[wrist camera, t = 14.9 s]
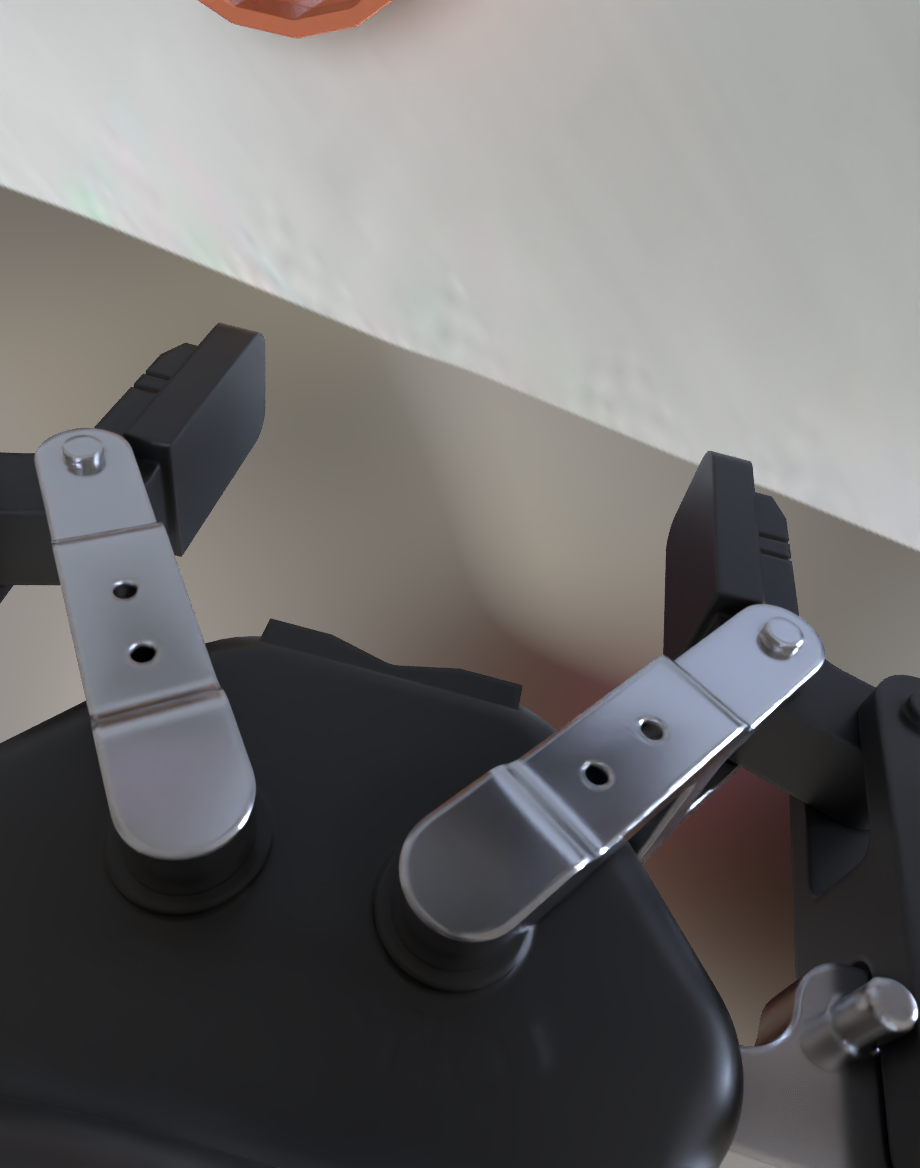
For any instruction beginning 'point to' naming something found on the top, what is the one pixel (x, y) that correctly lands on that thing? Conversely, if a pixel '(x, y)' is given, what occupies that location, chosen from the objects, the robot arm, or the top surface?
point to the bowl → (296, 14)
